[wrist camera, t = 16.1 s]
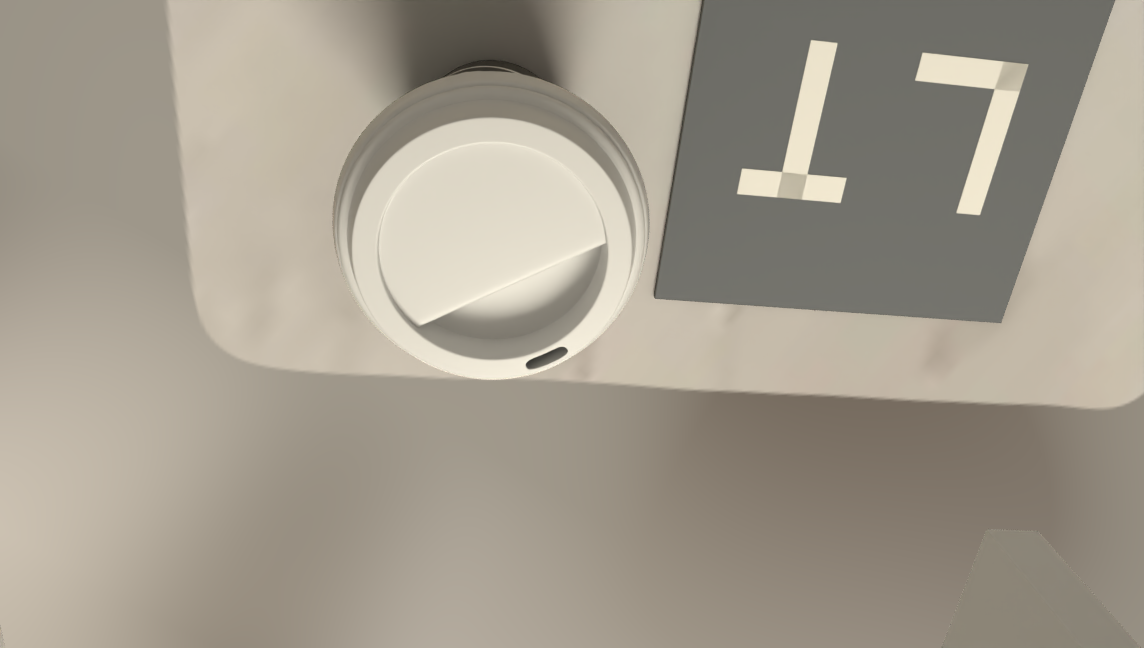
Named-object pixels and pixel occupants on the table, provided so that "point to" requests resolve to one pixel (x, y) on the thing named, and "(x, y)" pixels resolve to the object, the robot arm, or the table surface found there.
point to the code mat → (871, 151)
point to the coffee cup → (491, 222)
